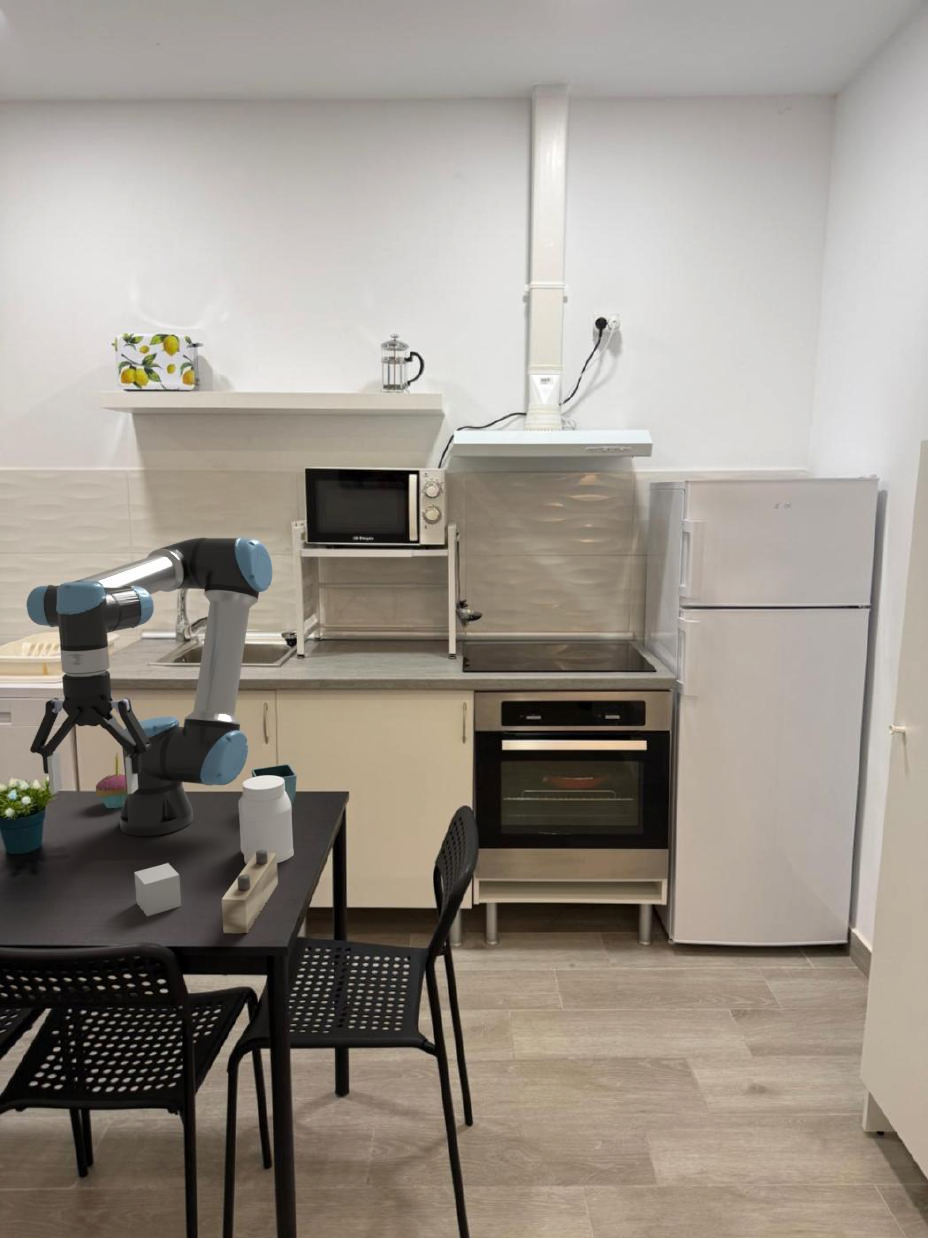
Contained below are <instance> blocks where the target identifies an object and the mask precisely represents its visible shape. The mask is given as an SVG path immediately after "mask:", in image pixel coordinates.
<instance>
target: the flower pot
mask: <svg viewBox="0 0 928 1238" xmlns="http://www.w3.org/2000/svg"><path fill="white" fill-rule="evenodd" d="M265 775H272V776H279V777H281V778H283V779H284V780H285V792H286V793H287V795H288V797H289V799H290V802H291V807H292V806H293V803H294V801H295V798H296V793H297V791H296V790H297V778H298V777H297V774H296V772H295V771H294V769H293V768H292V767H291V765H290V764H288V763H286V764H279V765H272V766H266V767H259V768H254V769H251V776H252V777H251V778H253V777H257V776H265Z"/></svg>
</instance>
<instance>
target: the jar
mask: <svg viewBox="0 0 928 1238" xmlns="http://www.w3.org/2000/svg"><path fill="white" fill-rule="evenodd" d="M241 786H242V795H241V797H240V798H239V800H238V806H237V807H238V816H239V834H240V836H239V837H240V852H241V853H242V854H243V859H244V863H245V864H246V865H247V864H248V862H249V861H250V859H251V858H252V857H253V855H254V854H255V853H256V852H257V851H258V850H266V851H267V853H276V854H277V864H279V863H282V862H285V861H287V860H289V859H290V858H292V857H293V856H294V853H295V851H294V842H293V840H294V839H293V822H292V821H293V818H292V817H293V816H292V813H293V811H292V810H293V808H292V806H291V802H290V799H289V797H288V795H287V793H286V792H285V780H284V779H283V778H281V777H279V776H272V775H265V776H257V777H253V778H252V777H250V778H248V779H246V780H244V781H243V783H242V785H241Z"/></svg>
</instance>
